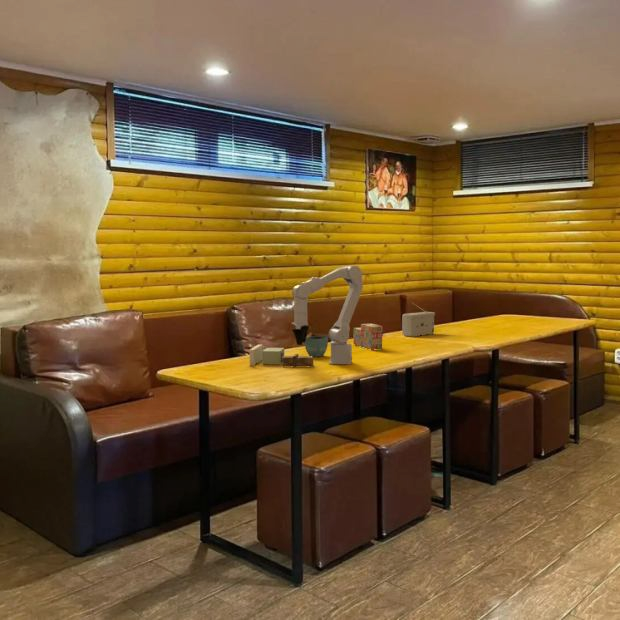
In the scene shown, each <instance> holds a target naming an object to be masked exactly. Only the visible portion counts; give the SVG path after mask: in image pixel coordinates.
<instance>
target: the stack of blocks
mask: <svg viewBox="0 0 620 620" xmlns="http://www.w3.org/2000/svg"><path fill="white" fill-rule="evenodd" d="M352 333H353V345H354V344H355V345H354V346H356V345H357V346H356V347H359V346H361V347H360V348H362V347H364V348H363V349H365V348H367V349H366V350H368V349H371V350H372V351H375V350H374V349H382V350H383V326H382V325H379V324H375V323H361V324H360V327H353V329H352ZM371 350H370V351H371Z"/></svg>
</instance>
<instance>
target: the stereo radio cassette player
mask: <svg viewBox="0 0 620 620" xmlns="http://www.w3.org/2000/svg"><path fill="white" fill-rule="evenodd" d="M412 304H413V305H415V306H416V307H417V308H419V309H420V310H422V311H420V312H410V313H403V314H402V318H401V321H402V322H401V328H402V329H401V331H402V332H401V333H402V335H403V336H404V337H410V336H411V338H413V337H421V336H420V335H422V336H426V334H429V335H433V334H435V315H436V312H435V311H434V312H433V311H426V310H425V309H423V308H421V307H419V305H416V304H415V303H414V302H412ZM432 333H433V334H432Z"/></svg>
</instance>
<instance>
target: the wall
mask: <svg viewBox="0 0 620 620" xmlns="http://www.w3.org/2000/svg"><path fill="white" fill-rule="evenodd" d="M262 351H263V344H257V345H255V346H253V347H252V348H250V349H249V366H256V365H257V364H258V363H260V362H262ZM259 361H260V362H259ZM256 363H257V364H256ZM255 364H256V365H255Z"/></svg>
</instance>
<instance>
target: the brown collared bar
mask: <svg viewBox="0 0 620 620" xmlns="http://www.w3.org/2000/svg"><path fill="white" fill-rule="evenodd" d="M313 365H314V357H313V356H312V357H311V356H309V355H308V356H305V355H304V356H303V355H302V356H301V355H299V354H298V353H295V354H294V355H292V356H291V355H284V356H283V357H282V361H281V367H282V366H293V367H292V368H297V367H296V366H310V367H309V368H312V367H311V366H313ZM313 367H314V366H313Z"/></svg>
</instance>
